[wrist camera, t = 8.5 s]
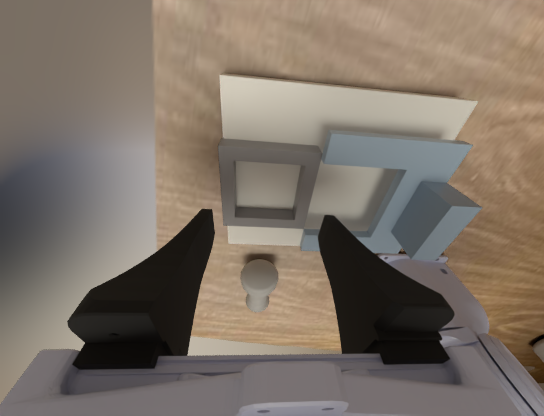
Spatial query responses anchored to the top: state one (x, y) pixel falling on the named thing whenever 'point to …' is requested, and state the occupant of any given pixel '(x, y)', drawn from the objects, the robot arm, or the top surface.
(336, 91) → the cream rectangular board
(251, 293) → the rook chess piece
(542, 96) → the top surface
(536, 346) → the cylinder vase
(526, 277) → the top surface
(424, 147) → the blue frame with block
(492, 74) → the top surface
